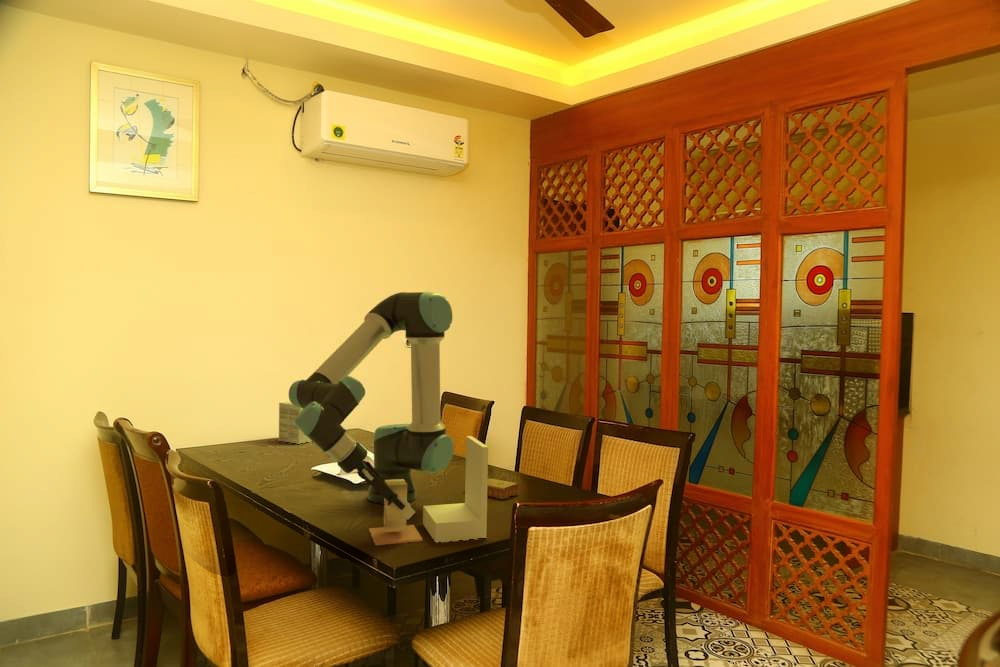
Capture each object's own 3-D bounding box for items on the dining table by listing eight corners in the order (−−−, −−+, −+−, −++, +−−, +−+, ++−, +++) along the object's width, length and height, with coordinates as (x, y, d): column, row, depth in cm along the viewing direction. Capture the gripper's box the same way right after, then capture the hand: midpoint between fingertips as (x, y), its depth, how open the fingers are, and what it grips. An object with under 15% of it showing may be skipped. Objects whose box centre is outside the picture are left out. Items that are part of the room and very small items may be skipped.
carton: (503, 501, 211) (503, 487, 211) (464, 492, 220) (464, 479, 220) (518, 495, 218) (518, 482, 217) (479, 487, 227) (480, 474, 227)
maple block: (383, 525, 176) (384, 479, 176) (402, 523, 178) (403, 478, 178) (386, 531, 171) (387, 485, 171) (406, 530, 173) (407, 483, 172)
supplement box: (300, 437, 308) (300, 399, 308) (321, 440, 302) (321, 402, 301) (277, 441, 297) (278, 402, 296) (299, 445, 290) (299, 405, 290)
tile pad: (369, 530, 179) (369, 528, 179) (413, 526, 182) (413, 524, 182) (375, 545, 167) (375, 543, 167) (422, 541, 171) (422, 539, 171)
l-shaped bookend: (422, 523, 185) (424, 437, 185) (469, 520, 189) (471, 436, 189) (435, 542, 170) (437, 449, 169) (486, 538, 174) (488, 447, 174)
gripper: (333, 455, 178) (393, 512, 184) (339, 471, 161) (405, 534, 166) (353, 435, 180) (412, 492, 185) (361, 448, 162) (426, 511, 168)
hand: (409, 512), depth 176 cm, fingers closed on maple block, 5 cm apart
